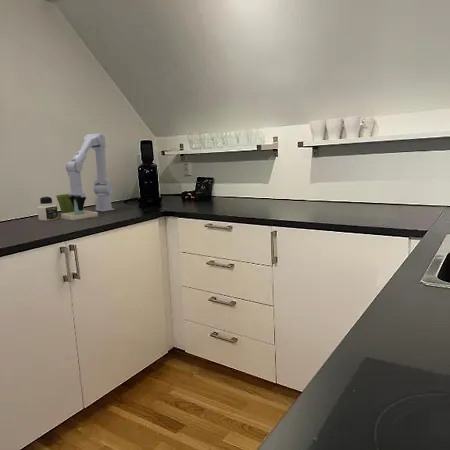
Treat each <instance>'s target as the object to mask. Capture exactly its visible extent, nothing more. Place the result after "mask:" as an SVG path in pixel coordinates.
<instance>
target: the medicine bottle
mask: <svg viewBox="0 0 450 450" xmlns="http://www.w3.org/2000/svg"><path fill="white" fill-rule="evenodd" d="M53 201H54V200H53V197H52V196H42V197H40V199H39V202H40V206H37V207H36V208H37V216H38V220H39V221H44V222H45V221H46V222H48V221H53V220H58V219H59V212H58V205H55V204H54V202H53Z"/></svg>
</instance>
